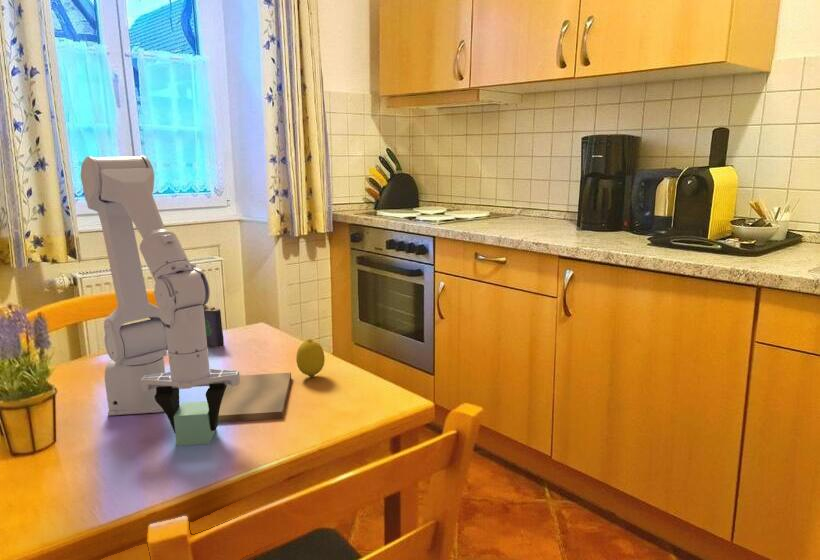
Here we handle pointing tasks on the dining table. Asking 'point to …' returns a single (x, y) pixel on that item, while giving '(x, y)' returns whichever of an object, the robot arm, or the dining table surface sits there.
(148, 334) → the robot arm
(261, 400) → the board
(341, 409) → the dining table surface
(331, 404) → the dining table surface
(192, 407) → the block
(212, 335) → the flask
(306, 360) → the lemon
